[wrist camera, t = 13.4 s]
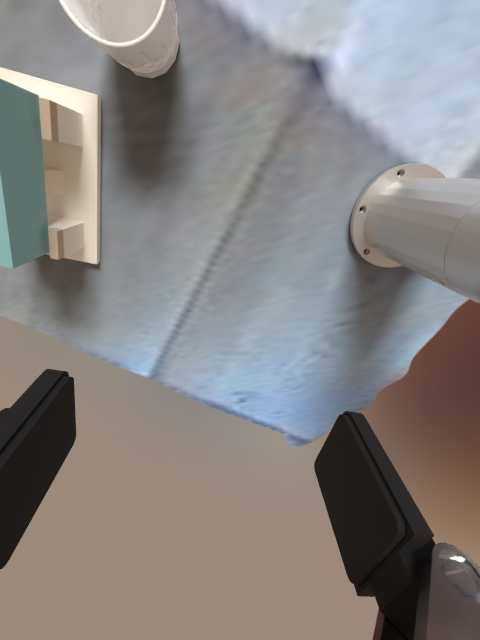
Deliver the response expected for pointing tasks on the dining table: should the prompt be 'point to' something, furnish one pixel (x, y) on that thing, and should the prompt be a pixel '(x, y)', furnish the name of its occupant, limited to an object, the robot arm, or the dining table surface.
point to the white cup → (130, 31)
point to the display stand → (69, 165)
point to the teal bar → (21, 178)
